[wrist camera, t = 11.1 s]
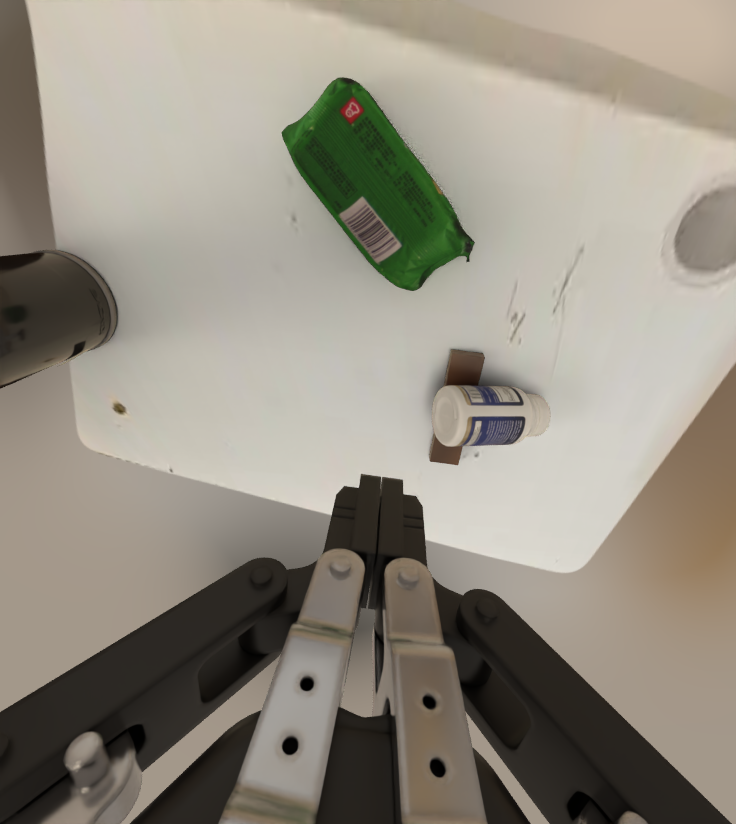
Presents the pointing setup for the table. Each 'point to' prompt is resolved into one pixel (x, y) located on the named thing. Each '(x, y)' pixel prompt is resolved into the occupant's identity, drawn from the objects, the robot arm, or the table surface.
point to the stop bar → (464, 373)
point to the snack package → (375, 186)
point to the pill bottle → (487, 415)
